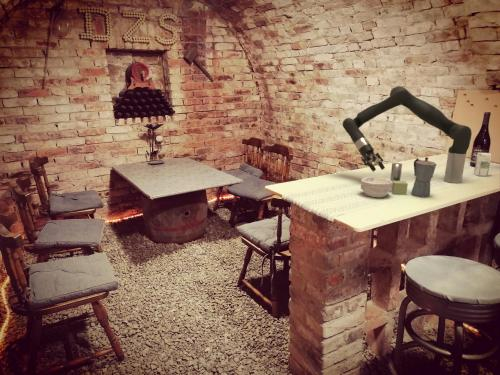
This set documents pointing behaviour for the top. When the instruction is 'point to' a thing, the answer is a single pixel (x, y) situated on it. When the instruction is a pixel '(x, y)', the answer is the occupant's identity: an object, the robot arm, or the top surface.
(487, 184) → the top surface
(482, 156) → the syrup box
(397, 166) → the flanged base cylinder
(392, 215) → the top surface
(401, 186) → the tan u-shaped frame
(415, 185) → the moka pot
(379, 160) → the robot arm
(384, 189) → the paper bowls
